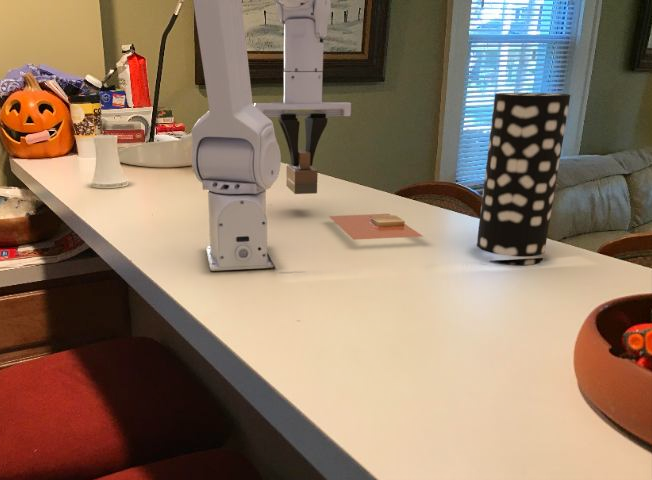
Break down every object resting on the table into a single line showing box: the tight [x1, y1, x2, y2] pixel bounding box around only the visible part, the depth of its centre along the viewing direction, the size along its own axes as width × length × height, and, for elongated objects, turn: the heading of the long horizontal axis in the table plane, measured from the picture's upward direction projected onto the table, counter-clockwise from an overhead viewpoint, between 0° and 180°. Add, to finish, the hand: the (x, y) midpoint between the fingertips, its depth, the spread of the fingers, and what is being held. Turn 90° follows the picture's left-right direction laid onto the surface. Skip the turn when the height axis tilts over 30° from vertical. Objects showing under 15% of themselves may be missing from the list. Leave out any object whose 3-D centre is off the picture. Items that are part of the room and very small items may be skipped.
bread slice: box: [370, 214, 406, 227], centre depth 91 cm, size 4×4×1 cm
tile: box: [328, 213, 423, 241], centre depth 90 cm, size 14×10×1 cm
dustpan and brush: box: [118, 132, 192, 169], centre depth 150 cm, size 23×33×10 cm
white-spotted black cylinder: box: [476, 92, 571, 266], centre depth 76 cm, size 8×8×20 cm
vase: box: [90, 134, 129, 189], centre depth 126 cm, size 8×8×10 cm
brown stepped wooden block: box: [285, 148, 319, 195], centre depth 95 cm, size 7×4×6 cm, turn 9°
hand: (301, 165), depth 95 cm, fingers closed on brown stepped wooden block, 2 cm apart
